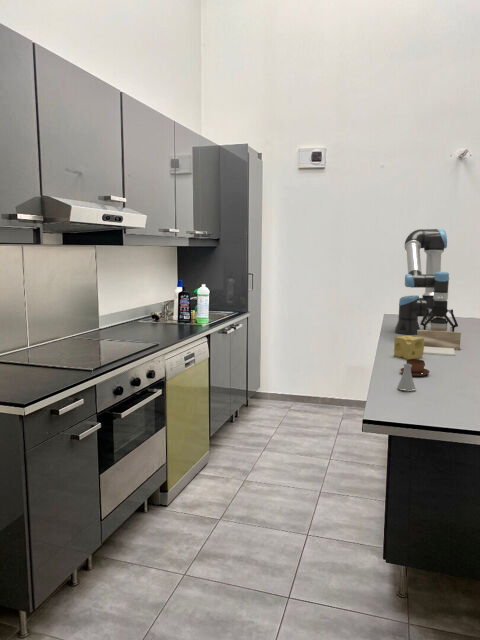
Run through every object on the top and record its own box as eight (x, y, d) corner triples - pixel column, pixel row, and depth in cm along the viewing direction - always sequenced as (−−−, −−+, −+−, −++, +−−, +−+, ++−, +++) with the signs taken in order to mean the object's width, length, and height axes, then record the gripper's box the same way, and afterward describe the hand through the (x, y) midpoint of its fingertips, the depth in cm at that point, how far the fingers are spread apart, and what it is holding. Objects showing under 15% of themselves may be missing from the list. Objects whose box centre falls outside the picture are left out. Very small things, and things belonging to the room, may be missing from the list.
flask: (394, 387, 209) (395, 362, 208) (411, 386, 210) (412, 362, 208) (401, 392, 202) (402, 367, 201) (419, 392, 203) (420, 366, 201)
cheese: (408, 360, 257) (409, 339, 255) (392, 355, 266) (393, 336, 265) (423, 357, 262) (424, 338, 260) (407, 353, 271) (408, 334, 270)
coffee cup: (447, 346, 289) (449, 319, 287) (430, 345, 291) (432, 319, 288) (444, 343, 298) (446, 317, 295) (428, 342, 299) (429, 316, 297)
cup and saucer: (406, 369, 238) (407, 356, 237) (433, 374, 230) (434, 360, 229) (396, 375, 229) (396, 361, 228) (423, 379, 221) (424, 365, 220)
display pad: (422, 347, 286) (422, 346, 286) (453, 349, 280) (454, 348, 280) (421, 353, 271) (421, 352, 271) (455, 355, 265) (455, 354, 265)
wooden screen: (416, 345, 292) (417, 329, 291) (459, 348, 285) (460, 331, 283) (416, 347, 287) (417, 331, 285) (460, 350, 279) (461, 333, 278)
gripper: (416, 299, 291) (414, 338, 294) (464, 301, 283) (462, 340, 286) (417, 298, 298) (415, 335, 301) (464, 300, 290) (461, 338, 293)
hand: (438, 338), depth 294 cm, fingers open, 12 cm apart
